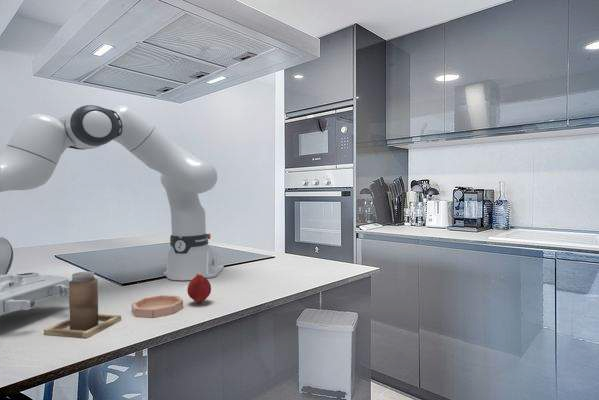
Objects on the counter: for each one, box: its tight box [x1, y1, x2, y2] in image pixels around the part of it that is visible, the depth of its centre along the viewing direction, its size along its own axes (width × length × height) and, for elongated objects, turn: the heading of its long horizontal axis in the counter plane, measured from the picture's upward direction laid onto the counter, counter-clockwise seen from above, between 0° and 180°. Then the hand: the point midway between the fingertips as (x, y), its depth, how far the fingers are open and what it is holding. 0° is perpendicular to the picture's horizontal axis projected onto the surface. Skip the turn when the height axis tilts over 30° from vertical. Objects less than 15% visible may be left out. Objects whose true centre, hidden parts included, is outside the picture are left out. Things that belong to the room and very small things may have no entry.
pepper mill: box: [68, 271, 99, 331], centre depth 76 cm, size 5×5×12 cm
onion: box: [187, 272, 212, 304], centre depth 92 cm, size 6×6×8 cm
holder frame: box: [43, 313, 122, 339], centre depth 76 cm, size 10×10×1 cm
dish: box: [131, 294, 184, 318], centre depth 87 cm, size 11×11×2 cm
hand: (51, 297), depth 78 cm, fingers open, 8 cm apart
